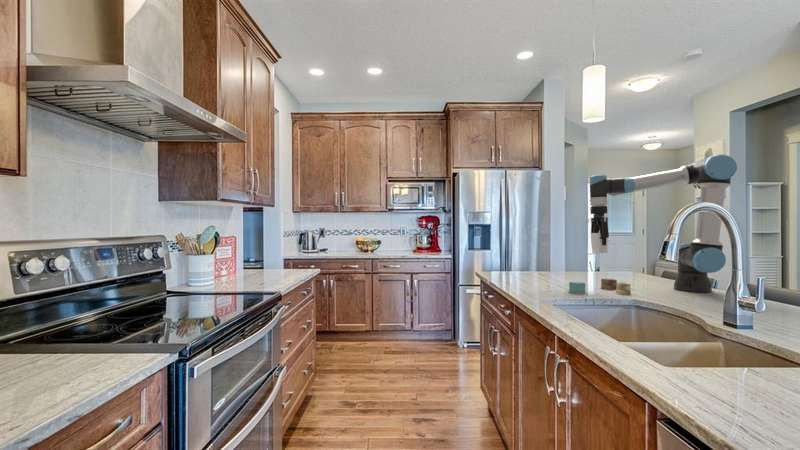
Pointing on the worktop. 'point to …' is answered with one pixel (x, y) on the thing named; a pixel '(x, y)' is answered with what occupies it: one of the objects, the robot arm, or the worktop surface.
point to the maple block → (623, 288)
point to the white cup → (597, 243)
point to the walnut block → (609, 284)
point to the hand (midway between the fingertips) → (599, 251)
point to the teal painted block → (577, 287)
